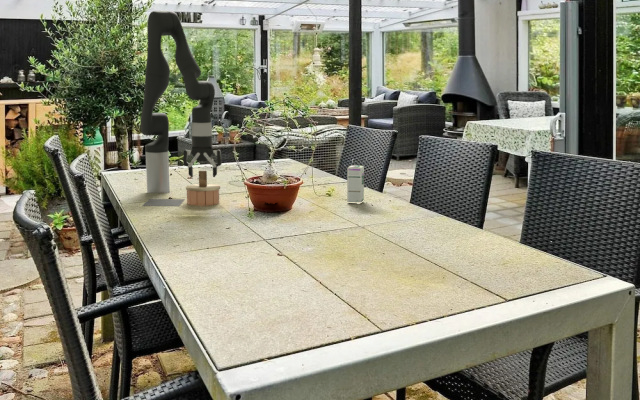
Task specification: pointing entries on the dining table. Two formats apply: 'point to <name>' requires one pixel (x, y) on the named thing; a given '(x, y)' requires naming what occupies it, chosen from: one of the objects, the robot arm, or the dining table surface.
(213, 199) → the bowl
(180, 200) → the mat
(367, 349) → the dining table surface
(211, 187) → the lid
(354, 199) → the syrup box
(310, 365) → the dining table surface
